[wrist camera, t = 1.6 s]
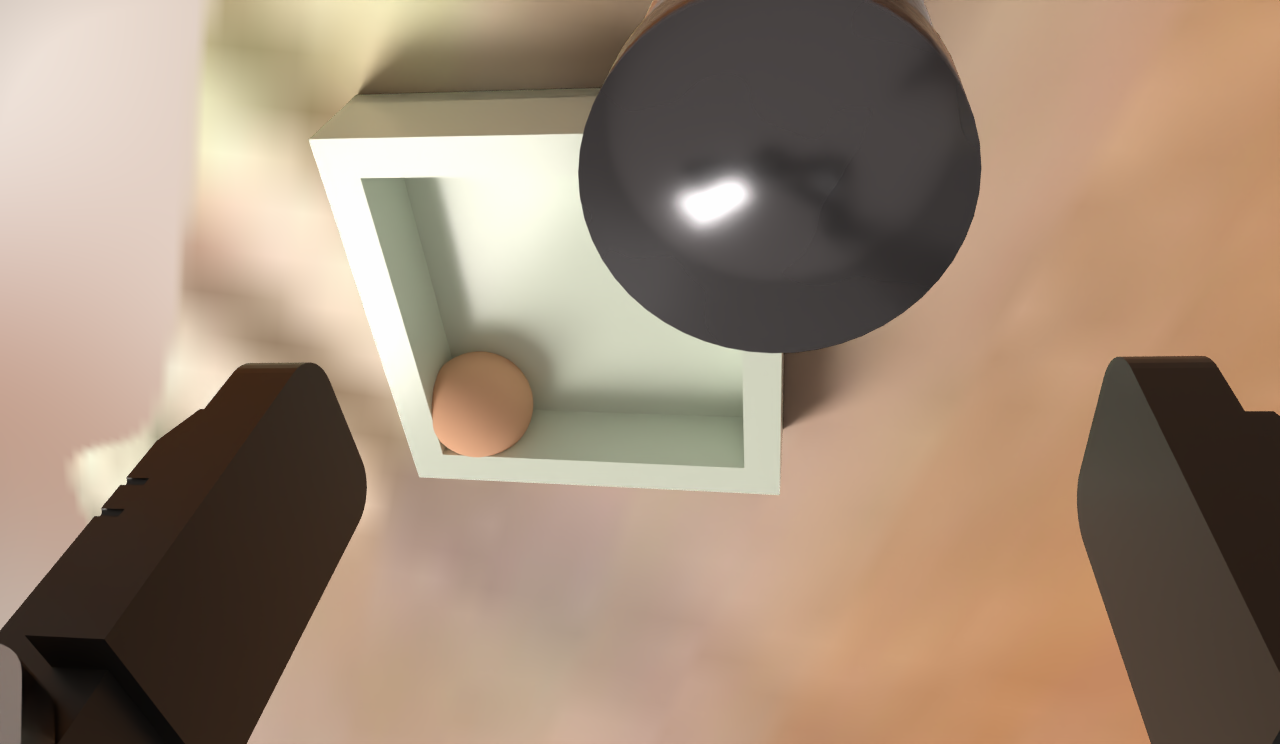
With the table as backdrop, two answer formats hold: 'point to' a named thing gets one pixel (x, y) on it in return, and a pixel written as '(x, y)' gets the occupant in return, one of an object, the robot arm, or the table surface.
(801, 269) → the cylinder
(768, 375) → the tray
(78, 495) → the table surface
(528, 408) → the ball
